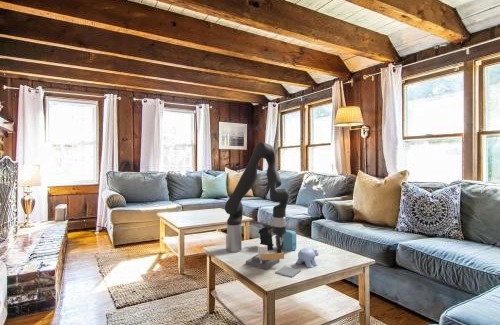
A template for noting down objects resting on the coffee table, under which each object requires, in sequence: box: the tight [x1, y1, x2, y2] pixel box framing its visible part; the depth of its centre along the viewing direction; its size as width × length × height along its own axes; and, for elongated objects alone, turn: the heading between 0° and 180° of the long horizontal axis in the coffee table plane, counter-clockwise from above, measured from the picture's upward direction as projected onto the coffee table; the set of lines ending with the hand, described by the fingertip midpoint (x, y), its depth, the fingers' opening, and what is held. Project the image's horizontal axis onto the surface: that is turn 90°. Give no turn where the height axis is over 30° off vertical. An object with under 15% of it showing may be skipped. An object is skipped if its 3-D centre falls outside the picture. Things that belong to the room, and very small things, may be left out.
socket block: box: [245, 253, 281, 271], centre depth 166 cm, size 14×14×4 cm
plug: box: [256, 244, 269, 258], centre depth 166 cm, size 6×6×8 cm
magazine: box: [257, 225, 274, 251], centre depth 194 cm, size 4×13×15 cm, turn 29°
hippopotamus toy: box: [296, 247, 319, 269], centre depth 165 cm, size 11×15×10 cm
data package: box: [281, 228, 297, 252], centre depth 192 cm, size 12×4×12 cm, turn 43°
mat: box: [274, 265, 302, 278], centre depth 153 cm, size 10×10×1 cm
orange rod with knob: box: [259, 252, 285, 260], centre depth 160 cm, size 2×14×3 cm, turn 98°
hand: (279, 254), depth 163 cm, fingers closed
